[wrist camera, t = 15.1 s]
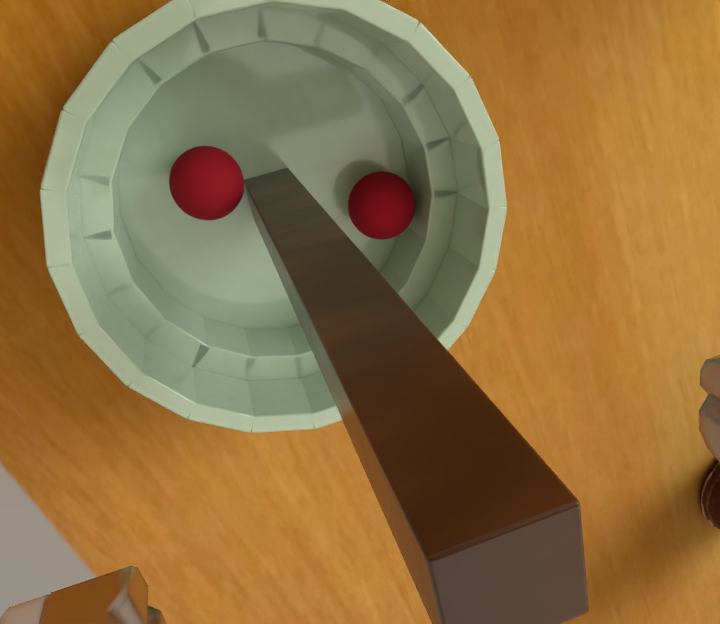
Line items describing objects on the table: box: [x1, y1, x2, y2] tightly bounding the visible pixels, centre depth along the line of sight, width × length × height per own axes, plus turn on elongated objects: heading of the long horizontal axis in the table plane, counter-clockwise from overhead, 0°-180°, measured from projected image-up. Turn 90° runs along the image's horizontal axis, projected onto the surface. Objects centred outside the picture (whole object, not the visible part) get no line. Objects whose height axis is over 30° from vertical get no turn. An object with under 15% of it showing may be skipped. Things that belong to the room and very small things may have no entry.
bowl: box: [39, 0, 507, 433], centre depth 23 cm, size 14×14×6 cm
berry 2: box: [348, 171, 415, 240], centre depth 25 cm, size 3×3×3 cm
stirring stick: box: [244, 168, 589, 624], centre depth 16 cm, size 2×2×20 cm
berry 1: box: [169, 146, 244, 220], centre depth 23 cm, size 3×3×3 cm
